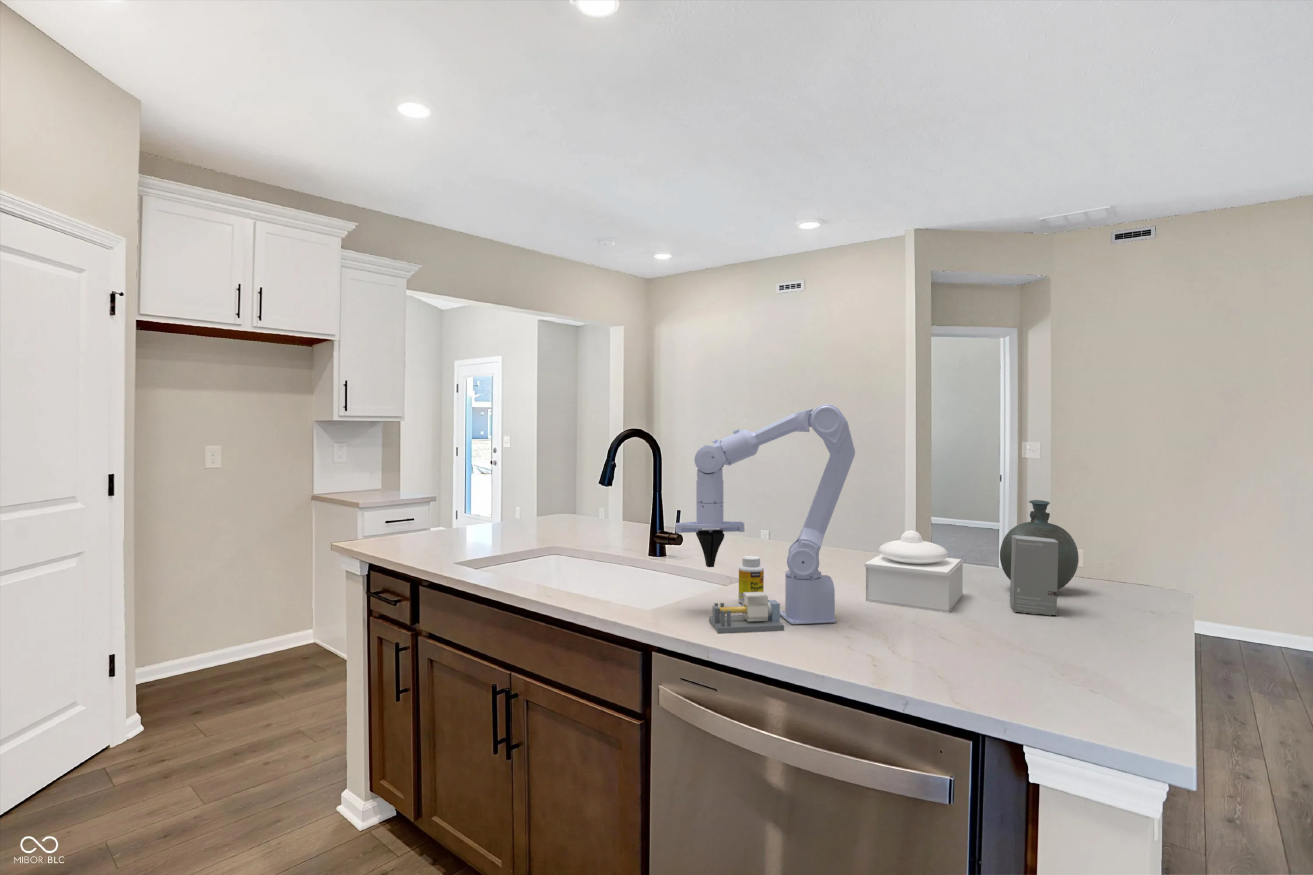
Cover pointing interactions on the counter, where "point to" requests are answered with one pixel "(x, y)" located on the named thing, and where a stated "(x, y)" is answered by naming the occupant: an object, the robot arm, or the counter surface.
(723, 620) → the linear actuator
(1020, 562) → the skincare box
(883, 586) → the white lidded box
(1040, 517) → the flask
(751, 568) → the supplement bottle
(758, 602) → the sleeve
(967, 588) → the counter surface
